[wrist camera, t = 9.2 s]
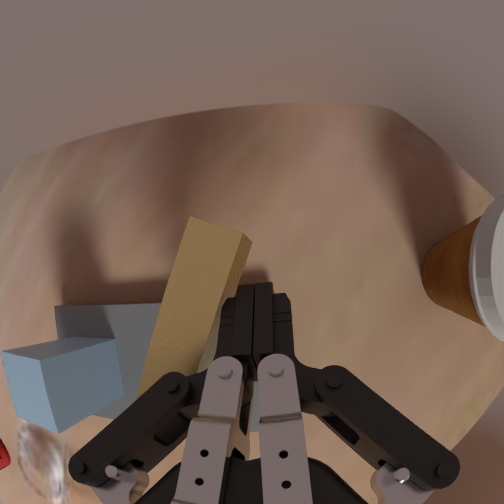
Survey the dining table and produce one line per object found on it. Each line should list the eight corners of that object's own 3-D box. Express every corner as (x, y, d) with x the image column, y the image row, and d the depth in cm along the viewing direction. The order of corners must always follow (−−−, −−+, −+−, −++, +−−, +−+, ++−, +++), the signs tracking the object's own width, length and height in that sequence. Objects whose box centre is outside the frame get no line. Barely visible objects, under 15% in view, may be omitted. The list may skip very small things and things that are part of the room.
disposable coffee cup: (449, 343, 22) (529, 373, 10) (386, 280, 23) (458, 280, 12) (495, 266, 22) (577, 257, 10) (439, 202, 23) (515, 158, 11)
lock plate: (82, 404, 26) (59, 416, 22) (65, 304, 27) (38, 306, 23) (283, 420, 23) (281, 444, 19) (273, 293, 25) (269, 296, 20)
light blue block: (83, 387, 24) (16, 415, 14) (74, 336, 25) (1, 351, 15) (124, 394, 24) (58, 433, 14) (115, 338, 24) (39, 360, 14)
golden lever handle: (219, 388, 22) (170, 456, 11) (192, 377, 22) (128, 434, 12) (265, 254, 22) (243, 233, 12) (236, 245, 23) (189, 216, 12)
